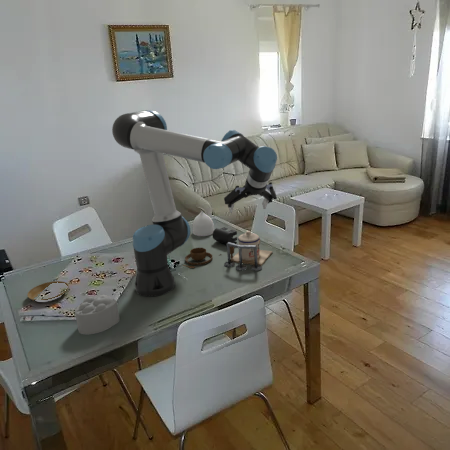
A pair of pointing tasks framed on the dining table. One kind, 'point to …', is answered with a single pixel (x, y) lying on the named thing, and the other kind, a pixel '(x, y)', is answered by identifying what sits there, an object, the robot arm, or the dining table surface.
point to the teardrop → (203, 225)
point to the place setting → (201, 256)
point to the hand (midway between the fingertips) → (247, 207)
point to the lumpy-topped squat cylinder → (96, 314)
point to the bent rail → (241, 267)
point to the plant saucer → (40, 288)
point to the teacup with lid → (249, 240)
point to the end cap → (224, 235)
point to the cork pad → (261, 260)
